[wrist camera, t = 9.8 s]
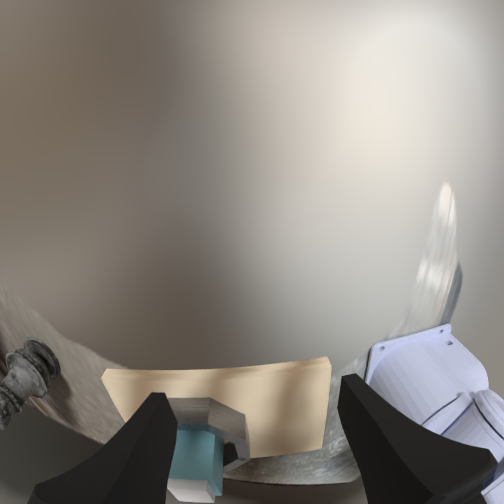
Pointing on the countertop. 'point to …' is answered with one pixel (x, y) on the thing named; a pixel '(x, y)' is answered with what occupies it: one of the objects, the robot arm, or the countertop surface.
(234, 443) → the holder dock
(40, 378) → the salt shaker
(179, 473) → the connector
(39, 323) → the countertop surface
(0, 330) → the countertop surface
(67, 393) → the countertop surface
